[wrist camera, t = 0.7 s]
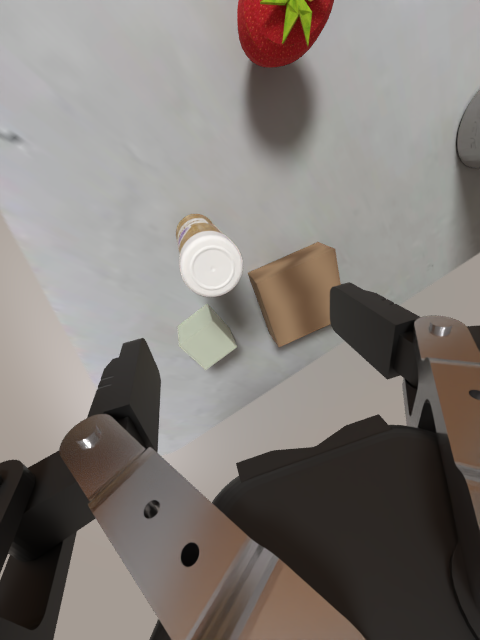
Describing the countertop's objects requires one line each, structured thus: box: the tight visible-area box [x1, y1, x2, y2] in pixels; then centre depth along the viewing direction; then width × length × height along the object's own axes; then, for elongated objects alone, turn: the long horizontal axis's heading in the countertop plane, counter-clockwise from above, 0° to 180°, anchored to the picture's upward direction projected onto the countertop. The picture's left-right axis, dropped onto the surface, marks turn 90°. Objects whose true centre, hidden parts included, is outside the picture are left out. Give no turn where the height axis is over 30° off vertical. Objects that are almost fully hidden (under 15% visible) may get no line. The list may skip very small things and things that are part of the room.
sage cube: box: [178, 304, 237, 370], centre depth 33 cm, size 5×5×5 cm
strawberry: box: [238, 0, 334, 67], centre depth 19 cm, size 6×8×10 cm
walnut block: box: [248, 242, 341, 347], centre depth 34 cm, size 10×10×4 cm
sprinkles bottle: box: [176, 214, 243, 297], centre depth 24 cm, size 5×5×14 cm
